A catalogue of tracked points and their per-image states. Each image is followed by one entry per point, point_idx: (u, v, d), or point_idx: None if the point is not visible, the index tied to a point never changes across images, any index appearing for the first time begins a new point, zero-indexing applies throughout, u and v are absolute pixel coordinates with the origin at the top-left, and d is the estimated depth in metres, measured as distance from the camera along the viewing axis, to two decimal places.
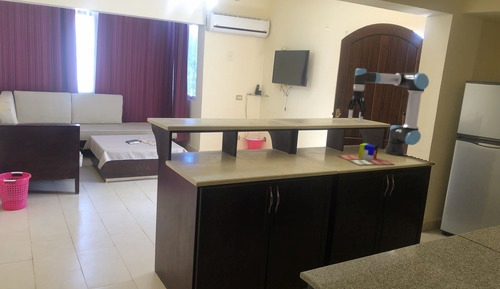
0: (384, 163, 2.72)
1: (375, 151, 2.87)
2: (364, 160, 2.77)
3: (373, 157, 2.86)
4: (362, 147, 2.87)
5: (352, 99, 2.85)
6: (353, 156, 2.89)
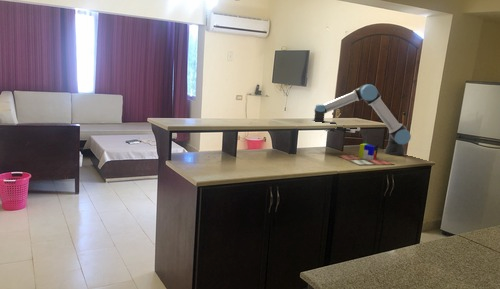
0: (384, 163, 2.72)
1: (375, 151, 2.87)
2: (364, 160, 2.77)
3: (373, 157, 2.86)
4: (362, 147, 2.87)
5: None
6: (353, 156, 2.89)
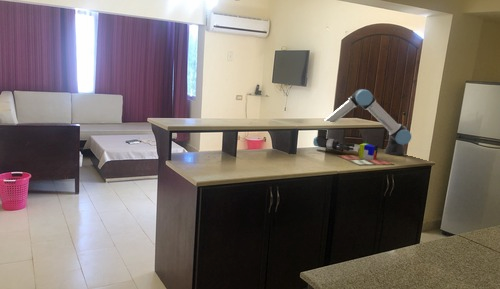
0: (384, 163, 2.72)
1: (375, 151, 2.87)
2: (364, 160, 2.77)
3: (373, 157, 2.86)
4: (362, 147, 2.87)
5: None
6: (353, 156, 2.89)
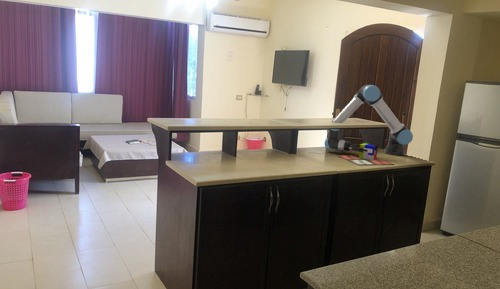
0: (384, 163, 2.72)
1: (375, 151, 2.87)
2: (364, 160, 2.77)
3: (373, 157, 2.86)
4: (362, 147, 2.87)
5: (356, 146, 2.99)
6: (353, 156, 2.89)
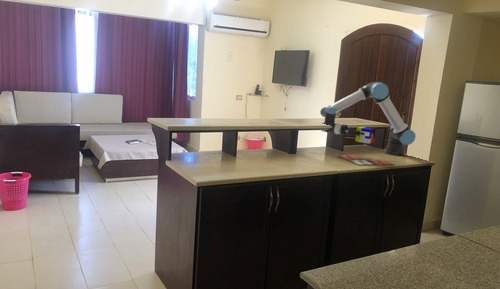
0: (384, 163, 2.72)
1: (372, 134, 2.78)
2: (364, 160, 2.77)
3: (370, 140, 2.77)
4: (359, 130, 2.78)
5: None
6: (353, 156, 2.89)
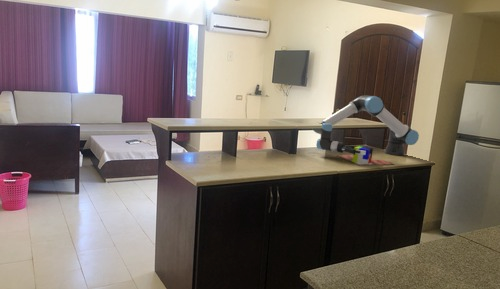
0: (384, 163, 2.72)
1: (370, 155, 2.69)
2: None
3: (368, 161, 2.67)
4: None
5: None
6: None
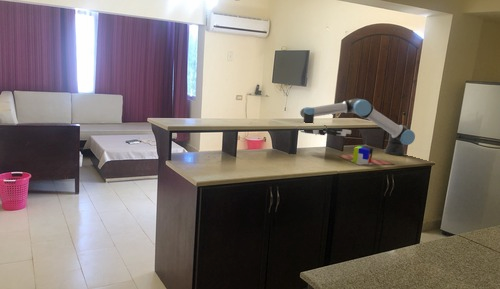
0: (384, 163, 2.72)
1: (370, 155, 2.69)
2: None
3: (368, 161, 2.67)
4: (356, 151, 2.68)
5: (331, 130, 2.91)
6: None
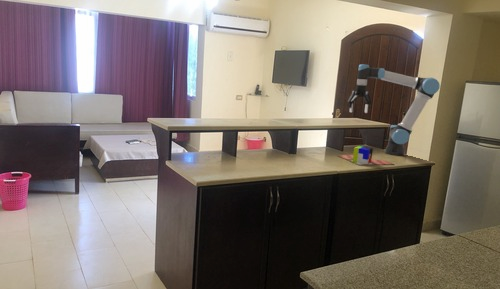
0: (384, 163, 2.72)
1: (370, 155, 2.69)
2: None
3: (368, 161, 2.67)
4: (356, 151, 2.68)
5: None
6: None
